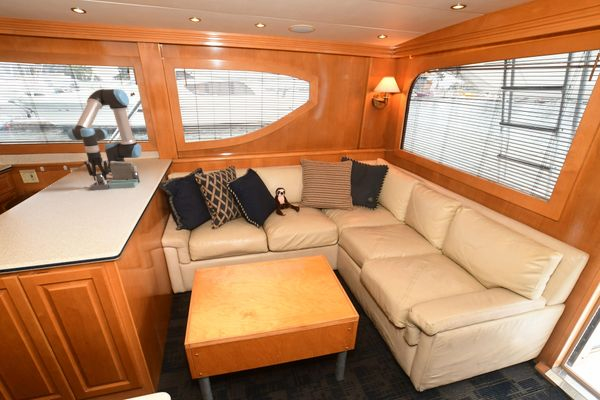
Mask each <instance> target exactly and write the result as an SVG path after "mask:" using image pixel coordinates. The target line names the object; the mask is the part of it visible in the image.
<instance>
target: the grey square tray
mask: <svg viewBox="0 0 600 400" xmlns="http://www.w3.org/2000/svg"><path fill="white" fill-rule="evenodd" d="M112 181H114V179H111V180H108V179H107V180H106V182H107V184H103V185H97V183H96V181H95V182H94V183H92V184H91V185H90V188H91V191H103V190H106V191H107V190H110V188H109V185H108V184H111V183H112Z"/></svg>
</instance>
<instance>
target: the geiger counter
mask: <svg viewBox="0 0 600 400" xmlns="http://www.w3.org/2000/svg"><path fill="white" fill-rule="evenodd" d="M110 164H111V165H110V168H111V172H110V173H109V174H107V175H108V176H112V180H126V179H128V180H133V177H132V173H131V172H133V171H137V172H138V167H137V164H136V165H135V163H134V162H132V161H125V162H116V161H111V162H110ZM108 170H109V169H108ZM138 173H139V172H138Z"/></svg>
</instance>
